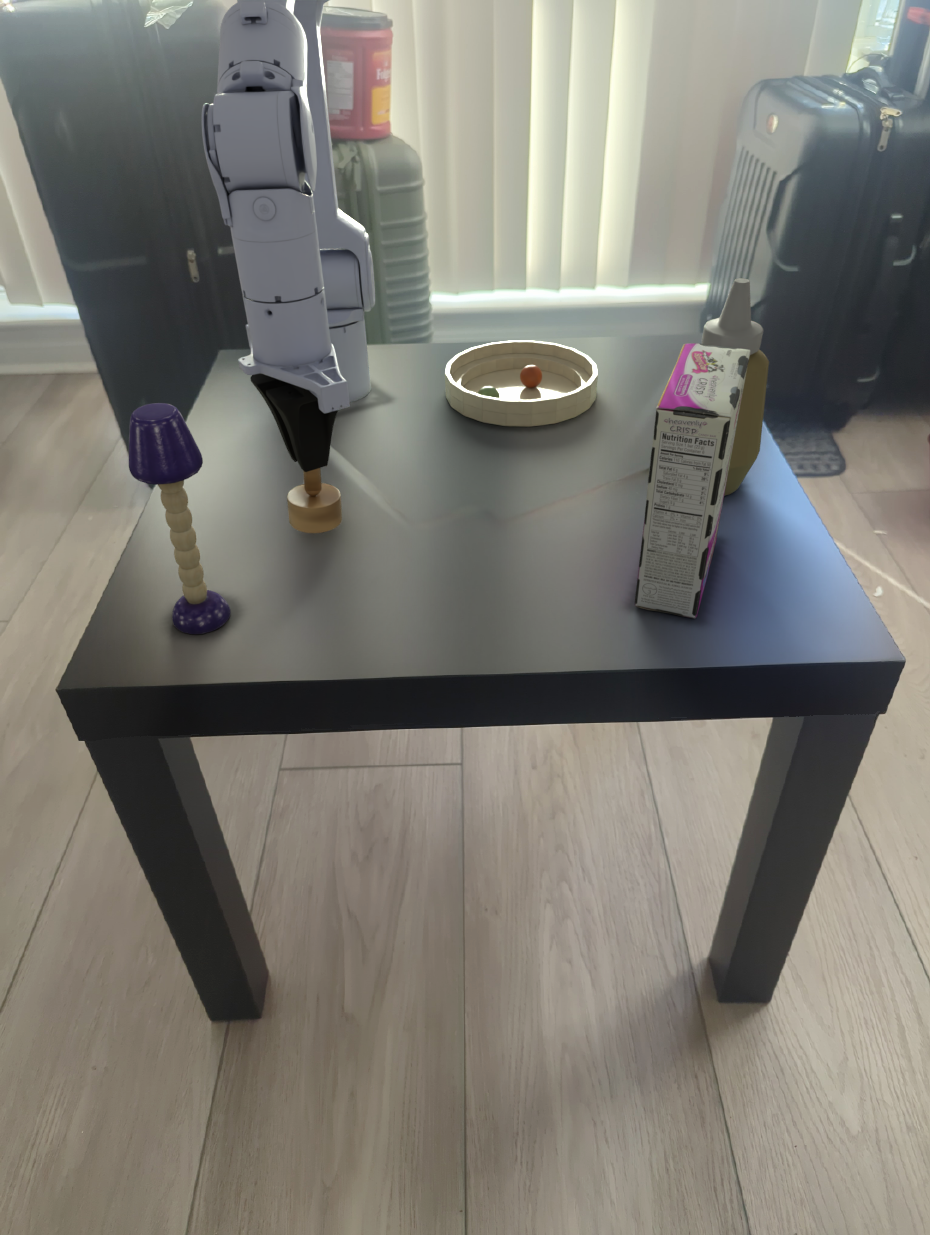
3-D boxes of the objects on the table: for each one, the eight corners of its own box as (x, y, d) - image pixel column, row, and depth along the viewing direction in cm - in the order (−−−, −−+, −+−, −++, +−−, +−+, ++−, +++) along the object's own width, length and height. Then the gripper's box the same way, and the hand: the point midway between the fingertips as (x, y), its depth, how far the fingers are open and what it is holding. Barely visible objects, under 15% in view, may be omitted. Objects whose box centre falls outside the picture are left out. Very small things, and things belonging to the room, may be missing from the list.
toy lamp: (229, 591, 67) (180, 389, 56) (246, 625, 63) (197, 417, 53) (167, 610, 65) (105, 405, 54) (181, 645, 62) (117, 434, 51)
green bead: (493, 409, 87) (473, 412, 88) (505, 407, 89) (485, 409, 90) (490, 385, 86) (470, 388, 88) (502, 383, 88) (482, 386, 90)
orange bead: (534, 371, 94) (518, 385, 94) (529, 356, 92) (513, 371, 92) (548, 381, 93) (532, 396, 93) (544, 367, 91) (528, 381, 91)
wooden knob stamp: (297, 504, 74) (288, 404, 68) (347, 509, 73) (342, 408, 68) (282, 530, 70) (271, 426, 65) (334, 536, 70) (328, 431, 64)
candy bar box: (656, 531, 72) (683, 339, 62) (716, 541, 70) (754, 347, 60) (628, 609, 64) (654, 404, 53) (696, 622, 62) (736, 414, 52)
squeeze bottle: (707, 453, 82) (741, 258, 71) (771, 489, 77) (819, 284, 65) (642, 476, 79) (667, 276, 68) (704, 515, 74) (742, 305, 62)
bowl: (420, 391, 95) (418, 361, 92) (537, 359, 101) (538, 330, 99) (499, 448, 84) (499, 415, 82) (625, 408, 90) (629, 376, 88)
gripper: (195, 274, 63) (231, 440, 72) (267, 333, 54) (298, 517, 62) (284, 257, 66) (308, 419, 75) (368, 310, 56) (384, 489, 65)
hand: (309, 462), depth 69 cm, fingers closed on wooden knob stamp
